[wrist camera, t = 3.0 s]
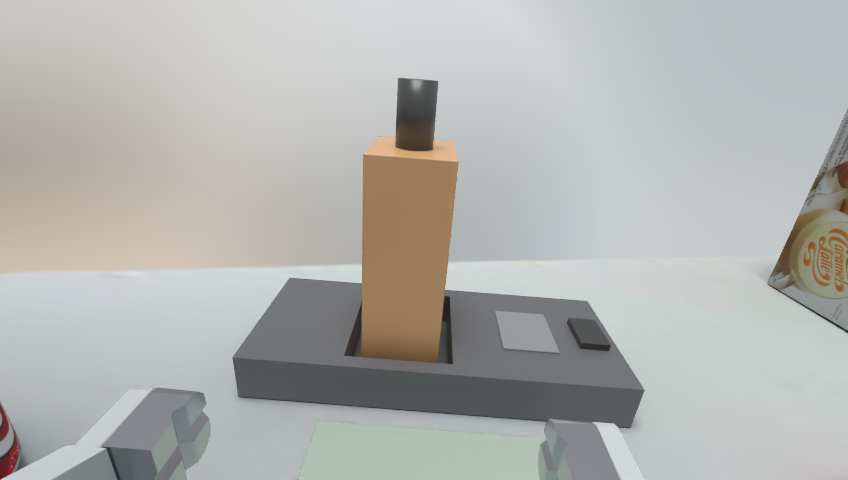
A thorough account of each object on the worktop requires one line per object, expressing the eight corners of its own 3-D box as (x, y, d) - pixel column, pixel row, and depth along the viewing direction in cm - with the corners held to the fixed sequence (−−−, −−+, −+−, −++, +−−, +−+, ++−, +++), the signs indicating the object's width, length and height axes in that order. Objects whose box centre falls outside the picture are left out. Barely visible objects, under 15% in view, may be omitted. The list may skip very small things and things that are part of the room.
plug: (361, 377, 21) (363, 77, 15) (374, 322, 26) (381, 75, 20) (434, 383, 21) (466, 85, 15) (435, 327, 26) (460, 81, 20)
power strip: (238, 396, 20) (231, 350, 19) (292, 309, 27) (289, 272, 26) (630, 427, 20) (646, 383, 19) (578, 331, 27) (588, 296, 26)
